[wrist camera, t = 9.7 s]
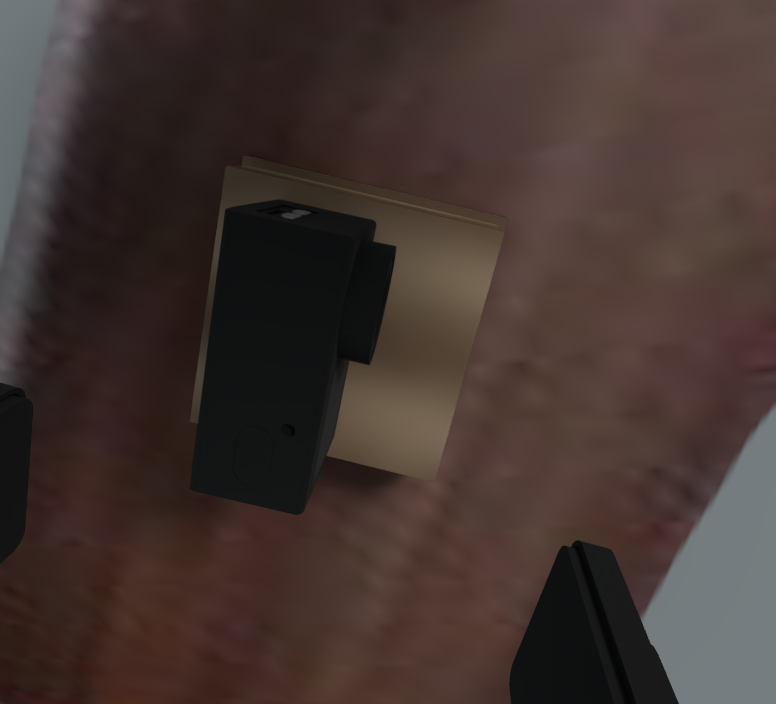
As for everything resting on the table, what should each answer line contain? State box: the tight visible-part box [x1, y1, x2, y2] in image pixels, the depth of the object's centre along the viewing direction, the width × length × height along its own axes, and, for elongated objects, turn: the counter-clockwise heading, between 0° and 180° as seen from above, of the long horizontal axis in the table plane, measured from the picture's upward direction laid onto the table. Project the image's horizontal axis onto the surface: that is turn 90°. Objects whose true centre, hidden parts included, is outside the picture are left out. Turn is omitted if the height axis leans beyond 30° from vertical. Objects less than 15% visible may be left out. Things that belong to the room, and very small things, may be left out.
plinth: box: [190, 155, 508, 482], centre depth 29 cm, size 13×13×4 cm
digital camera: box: [190, 199, 396, 515], centre depth 24 cm, size 10×5×7 cm, turn 168°
